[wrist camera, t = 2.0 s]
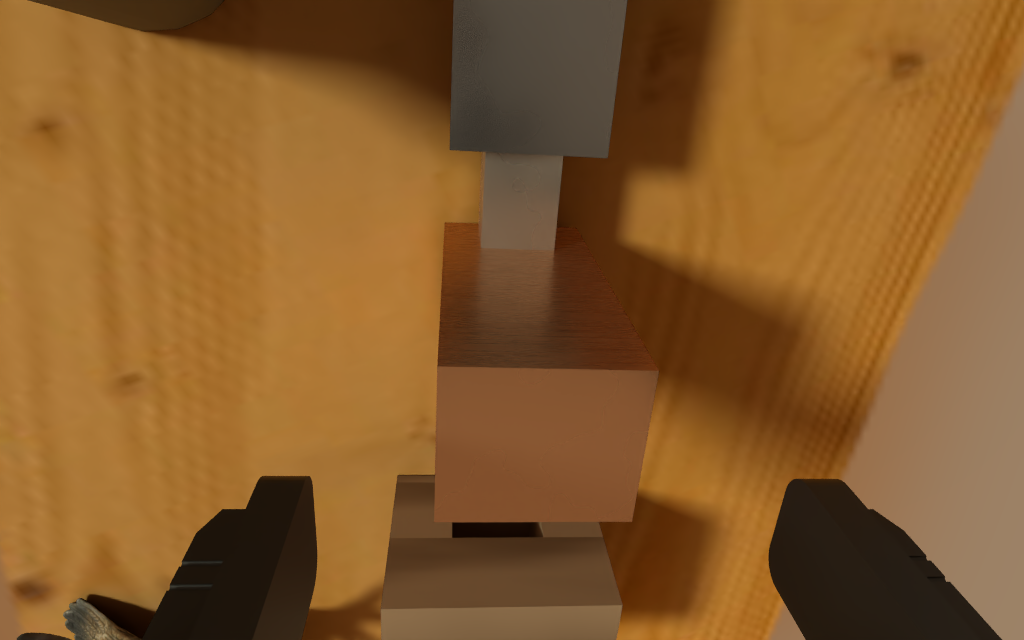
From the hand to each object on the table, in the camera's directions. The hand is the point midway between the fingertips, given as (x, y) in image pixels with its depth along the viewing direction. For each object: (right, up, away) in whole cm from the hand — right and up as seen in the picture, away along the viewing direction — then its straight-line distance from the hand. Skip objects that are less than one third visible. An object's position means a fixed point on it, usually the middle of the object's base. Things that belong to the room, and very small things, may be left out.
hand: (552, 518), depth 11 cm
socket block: (-2, -5, +14) cm, 15 cm away
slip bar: (-1, +7, +8) cm, 11 cm away
